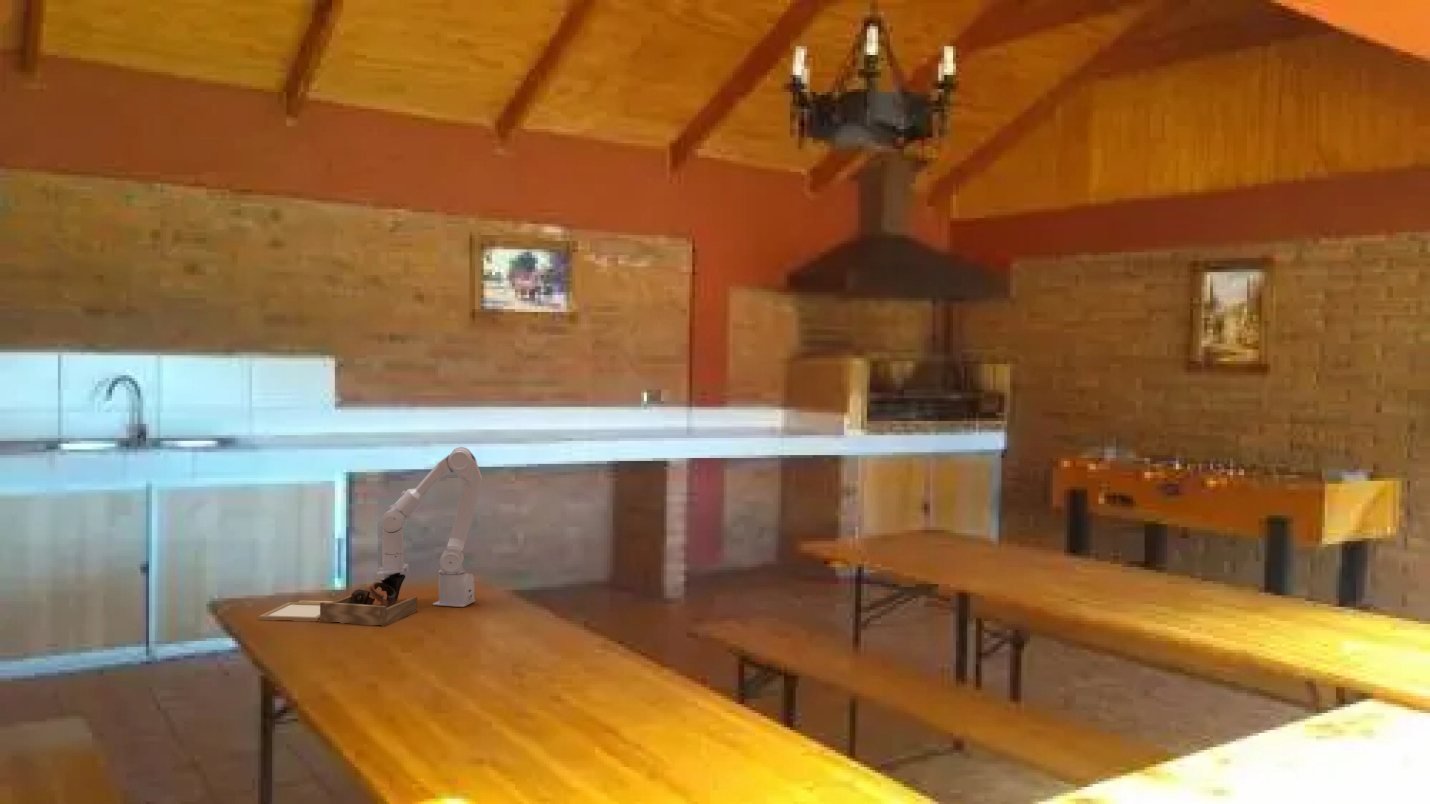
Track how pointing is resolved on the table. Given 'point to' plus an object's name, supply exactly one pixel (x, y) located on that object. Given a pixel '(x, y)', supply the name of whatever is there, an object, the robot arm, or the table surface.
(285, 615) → the lid
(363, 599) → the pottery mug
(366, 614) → the wooden tray
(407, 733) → the table surface
